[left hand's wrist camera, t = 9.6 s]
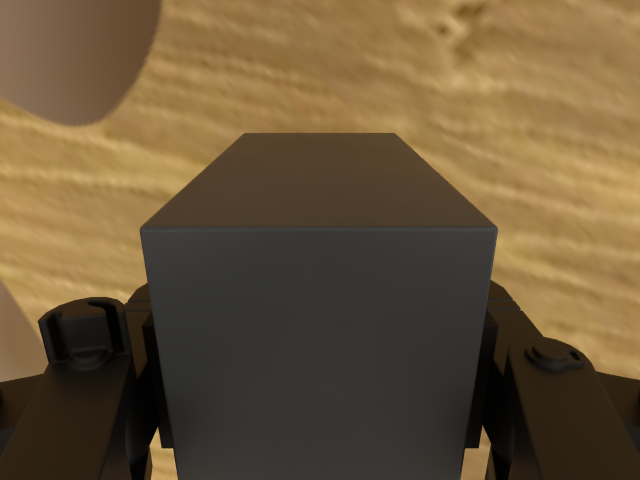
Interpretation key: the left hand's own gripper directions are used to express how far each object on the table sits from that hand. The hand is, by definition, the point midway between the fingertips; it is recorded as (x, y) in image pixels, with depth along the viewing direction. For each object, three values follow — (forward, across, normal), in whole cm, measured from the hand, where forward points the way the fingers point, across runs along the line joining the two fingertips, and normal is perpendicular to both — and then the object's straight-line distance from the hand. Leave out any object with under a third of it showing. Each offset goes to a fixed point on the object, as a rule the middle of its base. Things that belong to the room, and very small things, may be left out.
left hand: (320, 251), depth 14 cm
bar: (+1, 0, -10) cm, 10 cm away
